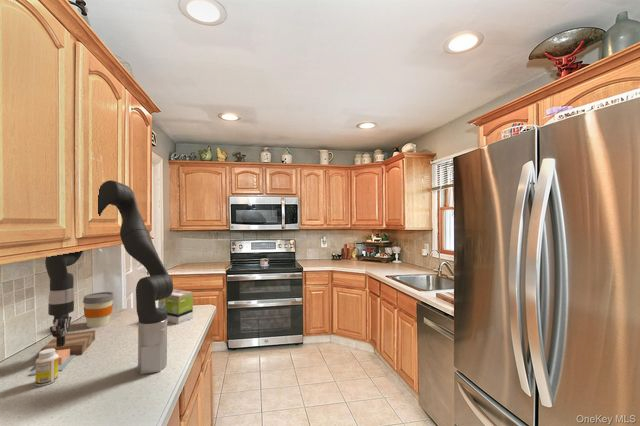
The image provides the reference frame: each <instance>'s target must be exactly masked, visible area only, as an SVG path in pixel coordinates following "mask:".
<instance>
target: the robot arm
mask: <svg viewBox="0 0 640 426" xmlns="http://www.w3.org/2000/svg"><path fill="white" fill-rule="evenodd" d="M99 187H100V189H99V188H98V189H99V195H98V214H99V216H100V217H101V215H102V213H103V211H104V210H105V209H106V208H107V207H108V206H109V205H110V206H111V205H112V206H115V207H116V209H118V212H119V214H120V216H121V220H122V221H121V226H120V230H119V237H120V240H121V242H122V244H123V248H124V250H125V251H126V252H127V254H128V255H129V256H130V257H131V258H133V259H134V260H135V261H137V262H138V263H139V264H141V265H143V267H144V269H146V271H147V273H148V274H149V276H144V277H142V278H140V279H139V280H138V281H137V283H136V286H135V302H136V304H135V305H136V306H135V307H136V314H137V317H138V327H137V328H138V329H137V330H138V331H137V372H138V373H140V375H147V374H151V373H152V374H153V373H159V372H161V371H162V370H163V369H165V368H166V366H167V363H168V361H167V360H168V354H167V353H168V349H167V348H168V322H167V310H165V309H161V308H158V307H157V306H156V304H157V303H156V301H157V302H158V300H161V299H164V298H167V297H169V296H170V295H171V294H172V292H173V289H174V284H173V281H172V280H173V279H172V278H171V276H170V274H169V273H168V271H167V269H166V267H165V265H164V264H163V262H162V260H161V258H160V256H159V254H158V252H157V249H156V248H155V245H154V243H153V241H152V238H151V236H150V233H149V230H148V229H147V227H146V225H145V222H144V219H143V217H142V215H141V212H140V210H139V206H138V203H137V200H136V195H135V193H134V190H133V189H132V188H131V187H130V186H128V185H126V184H124V183H121V182H119V181H116V180H107V181H104V182H103V183H102V184H101V185H100V186H99ZM83 252H84V250H83V251H80V252H75V253H69V254H63V255H57V256H51V257H47V256H45V261H44V264H45V268H46V273H47V275H48V278H49V293H48V302H47V303H48V310H47V312H48V314H47V315H49V316H51V317H52V316H53V319H52V325H53V326H50V327H49V331H50V333H51V336H52V337H53V338H55V337H56V346H57V347H61V346H63V345H64V344H65V335H66V334H67V332H68V331H69V330H70V329H69V328H70V324H71V320H72V316H70V315H69V314H70V313H73V312H74V311H75V290H74V288H75V287H74V284H75V283H74V281H75V280H74V278H75V277H74V275H73V274H72V273H71V272H69V271H68V267H70V266H72V265H74V264H76V263H77V261H78V260H80V258H81V256H82V254H83Z"/></svg>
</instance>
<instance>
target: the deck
mask: <svg viewBox="0 0 640 426" xmlns="http://www.w3.org/2000/svg"><path fill="white" fill-rule="evenodd" d="M95 340H96V330H95V329H94V330H87V331H80V332H79V331H78V332H69V333H66V335H65V344H64V345H63V346H61V347H57V346H56V337H53V339H51V340H50V341H49V342H48V343H47V344H45V345H44V346H43V347H42V348H40V351H39V352H41V351H43V350H46V349H55V351H56V350H64V349H70V355H73V354H76V356H80V355H81V356H82V355H83V354H84V353H85V352H86V351H87V349H89V347H90V346H91V345H92V343H93V342H95Z"/></svg>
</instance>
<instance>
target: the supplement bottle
mask: <svg viewBox="0 0 640 426" xmlns="http://www.w3.org/2000/svg"><path fill="white" fill-rule="evenodd" d="M55 353H56V352H55V349H46V350H43V351H41V352H40V351H39V353H38V358H36V359H35V368H36V375H35V380H34V381H35V385H36V386H39V387H41V386H47V385H50V384H53V383H54V382H56V381H57V380H58V379H59V371H58V354H55Z"/></svg>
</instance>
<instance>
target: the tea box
mask: <svg viewBox="0 0 640 426" xmlns="http://www.w3.org/2000/svg"><path fill="white" fill-rule="evenodd" d="M157 302H158V306H157V308H161V309H165V310H167V323H172V324H176V325H179V324H182V323H184V322H187V321H190V320H192V319H193V312H194V310H193V309H194V307H193V306H194V305H193V304H194V292H193V291H189V290H188V291H187V290H182V289H176V288H173V292H172V294H171V295H170V296H169V297H167V298H164V299H161V300H157Z"/></svg>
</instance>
